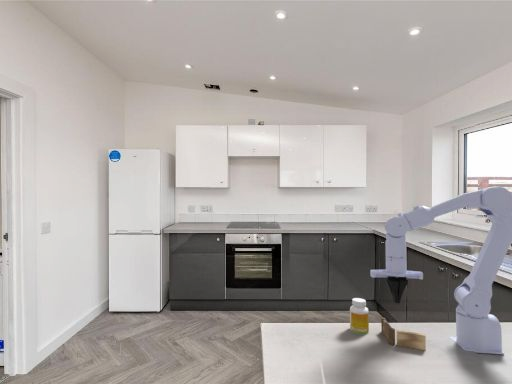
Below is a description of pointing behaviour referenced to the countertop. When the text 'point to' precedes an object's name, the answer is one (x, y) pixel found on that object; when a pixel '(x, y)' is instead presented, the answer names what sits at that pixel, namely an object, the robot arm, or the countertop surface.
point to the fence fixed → (388, 331)
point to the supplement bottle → (359, 316)
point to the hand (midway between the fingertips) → (396, 302)
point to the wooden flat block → (411, 340)
